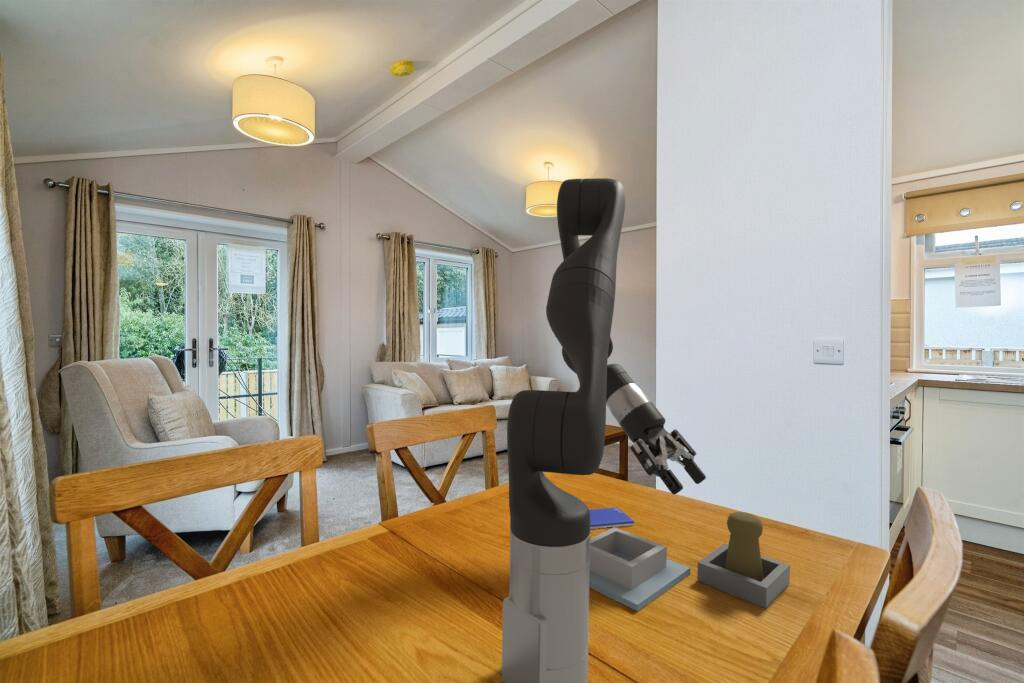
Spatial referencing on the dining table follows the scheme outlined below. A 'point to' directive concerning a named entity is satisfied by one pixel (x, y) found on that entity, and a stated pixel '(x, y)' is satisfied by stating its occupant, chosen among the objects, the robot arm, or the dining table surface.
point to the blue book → (609, 518)
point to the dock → (631, 568)
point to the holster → (744, 578)
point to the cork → (744, 545)
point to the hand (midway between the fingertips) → (690, 486)
